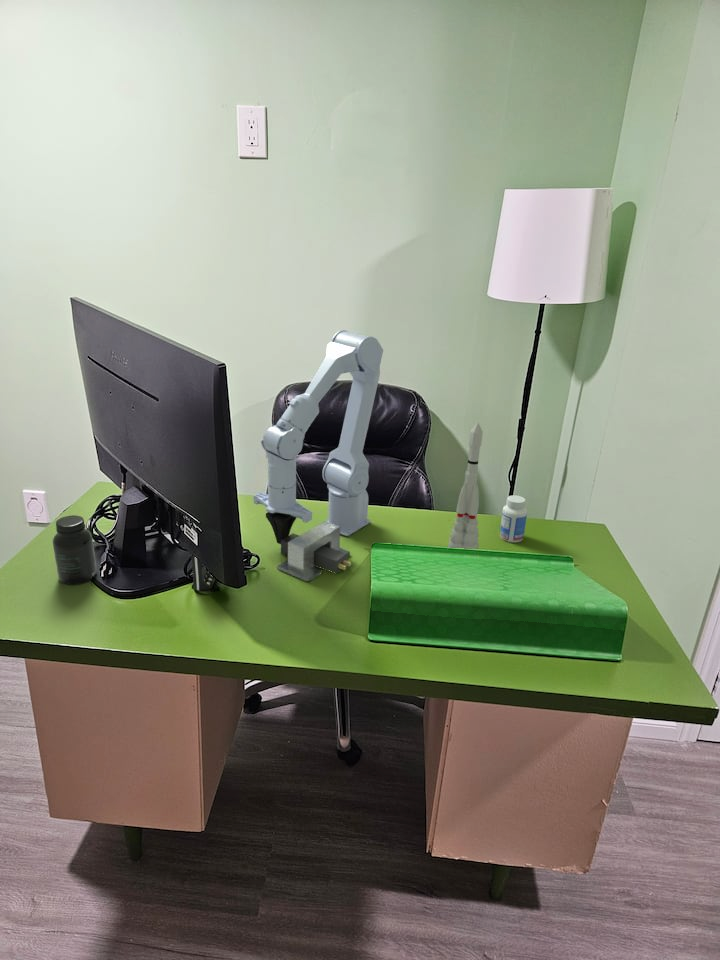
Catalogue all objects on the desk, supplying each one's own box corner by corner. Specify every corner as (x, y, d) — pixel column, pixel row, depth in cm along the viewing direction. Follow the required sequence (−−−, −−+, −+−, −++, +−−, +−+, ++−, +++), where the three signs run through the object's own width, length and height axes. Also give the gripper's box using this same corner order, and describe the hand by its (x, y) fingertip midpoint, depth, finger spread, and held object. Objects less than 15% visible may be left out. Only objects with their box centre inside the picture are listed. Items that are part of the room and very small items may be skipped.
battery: (213, 593, 119) (210, 539, 115) (193, 591, 119) (189, 538, 115) (222, 573, 125) (219, 522, 121) (203, 572, 126) (200, 520, 121)
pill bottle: (523, 534, 147) (529, 495, 143) (523, 544, 142) (529, 505, 138) (499, 530, 148) (505, 492, 144) (498, 541, 143) (504, 501, 139)
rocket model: (438, 551, 137) (451, 419, 126) (465, 544, 141) (480, 415, 129) (458, 567, 132) (475, 430, 120) (486, 560, 135) (504, 426, 123)
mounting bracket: (320, 543, 139) (320, 516, 136) (349, 554, 134) (350, 527, 132) (277, 569, 128) (276, 540, 125) (307, 582, 124) (308, 553, 121)
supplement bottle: (71, 565, 126) (63, 511, 121) (103, 569, 125) (96, 514, 120) (51, 583, 120) (41, 526, 115) (85, 587, 119) (76, 530, 114)
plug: (292, 546, 137) (292, 533, 136) (352, 568, 129) (353, 554, 128) (280, 553, 134) (280, 540, 132) (341, 576, 126) (342, 562, 125)
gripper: (242, 480, 130) (244, 538, 136) (296, 499, 123) (296, 560, 128) (266, 470, 136) (266, 527, 141) (318, 488, 128) (317, 547, 134)
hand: (282, 542), depth 135 cm, fingers closed
